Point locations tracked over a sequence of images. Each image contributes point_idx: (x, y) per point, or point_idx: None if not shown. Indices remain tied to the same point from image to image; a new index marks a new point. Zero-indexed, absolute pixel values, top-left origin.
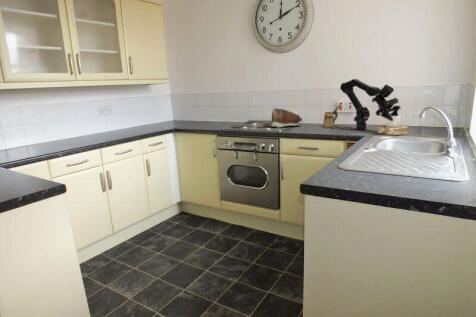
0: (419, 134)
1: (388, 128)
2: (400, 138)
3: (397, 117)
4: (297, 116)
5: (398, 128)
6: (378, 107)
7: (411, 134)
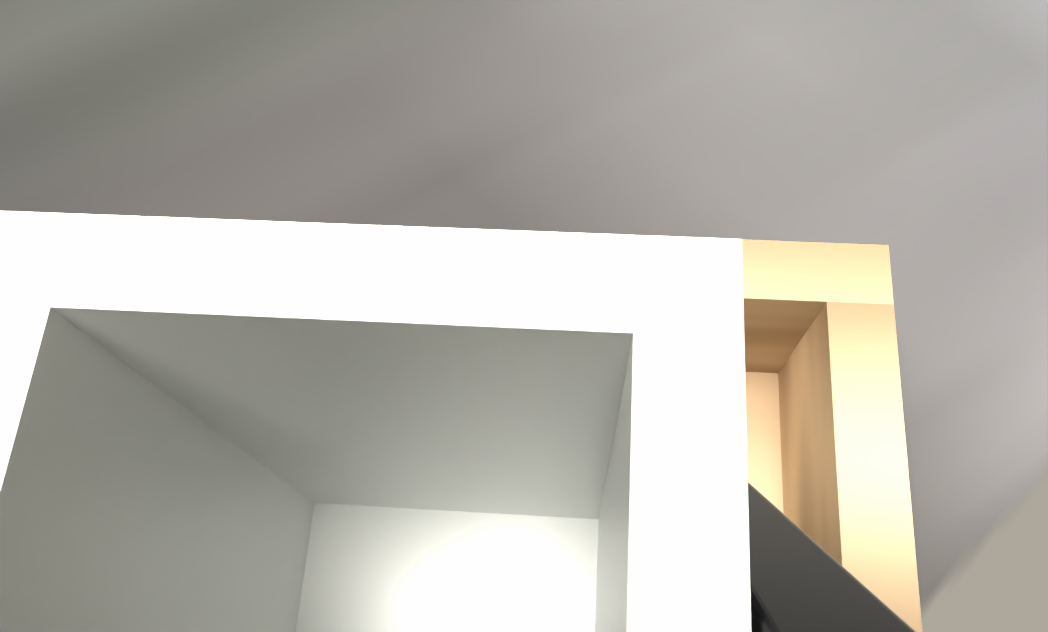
0: (90, 86)
1: (916, 588)
2: (1014, 63)
3: (441, 253)
4: None
5: None
6: None
7: (215, 209)
